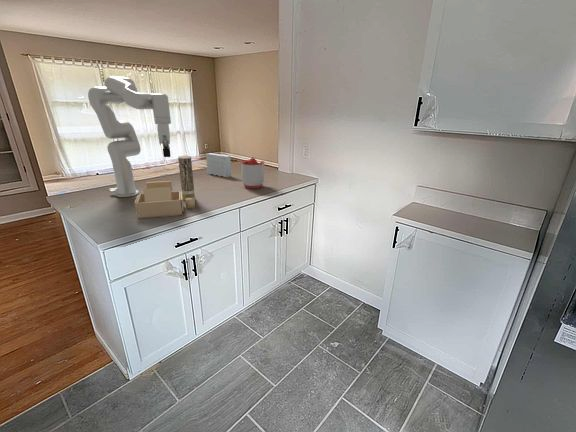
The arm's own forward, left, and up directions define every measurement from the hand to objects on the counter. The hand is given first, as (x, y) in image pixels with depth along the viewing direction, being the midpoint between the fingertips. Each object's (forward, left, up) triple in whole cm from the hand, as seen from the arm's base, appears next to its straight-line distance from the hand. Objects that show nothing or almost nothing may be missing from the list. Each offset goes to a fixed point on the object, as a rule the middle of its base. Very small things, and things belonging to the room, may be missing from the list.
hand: (167, 155), depth 152 cm
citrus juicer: (+51, +27, -28) cm, 64 cm away
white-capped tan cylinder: (+9, -5, -28) cm, 29 cm away
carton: (-6, -8, -28) cm, 29 cm away
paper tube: (+8, +9, -28) cm, 30 cm away
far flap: (-6, 0, -19) cm, 20 cm away
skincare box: (+32, +65, -28) cm, 78 cm away
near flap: (-6, -16, -19) cm, 26 cm away
